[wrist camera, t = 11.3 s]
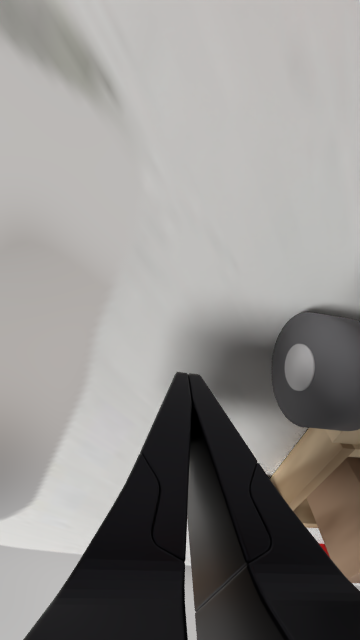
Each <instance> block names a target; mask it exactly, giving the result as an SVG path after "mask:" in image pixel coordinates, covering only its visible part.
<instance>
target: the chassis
mask: <svg viewBox="0 0 360 640" xmlns="http://www.w3.org/2000/svg"><path fill="white" fill-rule="evenodd" d="M347 457H359V458H360V429H359V430H355V431H338V430H328V429H318V428H309V429H308V430H307V431H306V433H305V434H304V435H303V436H302V438H301V439H300V440H299V442H298V443H297V444H296V446H295V447H294V448H293V449H292V451H291V452H290V453H289V455H288V456H287V457H286V459H285V460H284V461H283V462H282V464H281V465H280V466H279V468H278V469H277V470H276V472H275V473H274V474H273V475H272V477H271V478H270V480H271V482H272V483H273V485H274V486H275V487H276V489H277V490H278V492H279V493H280V495H281V496H282V497H283V498H284V500H285V501H286V502H287V504H288V505H289V506H290V508H291V509H292V510H293V512H294V513H295V514H296V516H297V517H298V518H299V519H300V521H301V522H302V523H303V524H304V526H305V527H308V528H318V526H317V523H316V520H315V518H314V515H313V513H312V510H311V508H310V505H309V503H308V500H307V497H308V496H309V495H310V494H311V493H312V492H313V491H314V490H315V489H316V488H317V487H318V486H319V485H320V484H321V483H322V482H323V481H324V480H325V479H326V478H327V477H328V476H329V475H330V474H331V473H332V472H333V471H334V470H335V469H336V468H337V467H338V466H339V465H340V464H341V463H342V462H343V461H344V460H345V459H346V458H347Z"/></svg>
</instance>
